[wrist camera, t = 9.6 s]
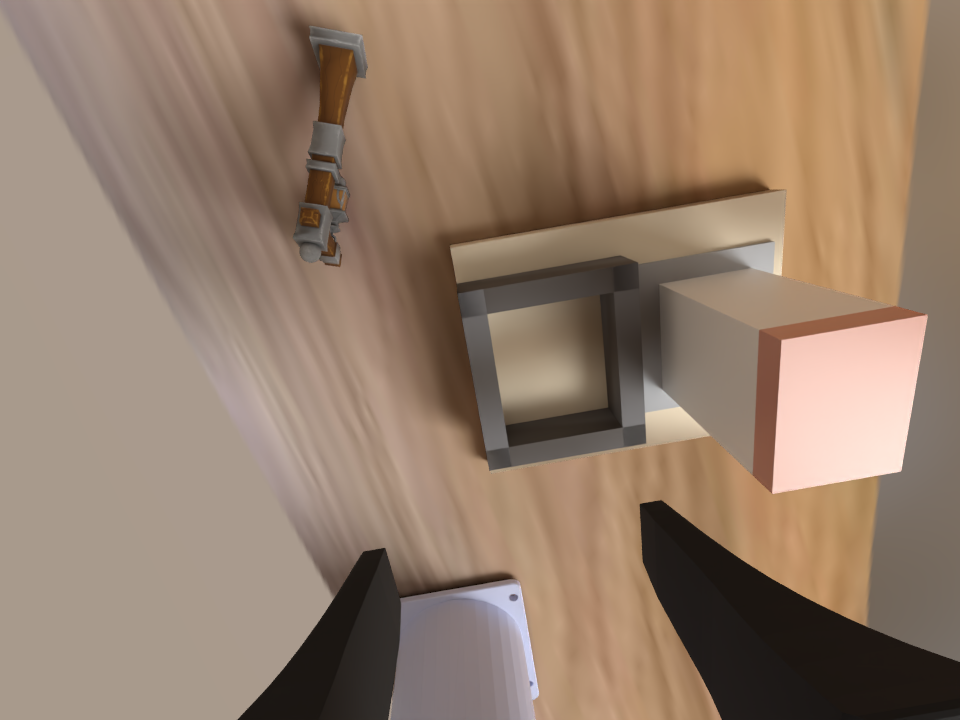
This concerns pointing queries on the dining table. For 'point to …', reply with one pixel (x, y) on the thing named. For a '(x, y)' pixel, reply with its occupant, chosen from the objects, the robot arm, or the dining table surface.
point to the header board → (594, 323)
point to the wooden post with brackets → (329, 145)
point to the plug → (792, 374)
